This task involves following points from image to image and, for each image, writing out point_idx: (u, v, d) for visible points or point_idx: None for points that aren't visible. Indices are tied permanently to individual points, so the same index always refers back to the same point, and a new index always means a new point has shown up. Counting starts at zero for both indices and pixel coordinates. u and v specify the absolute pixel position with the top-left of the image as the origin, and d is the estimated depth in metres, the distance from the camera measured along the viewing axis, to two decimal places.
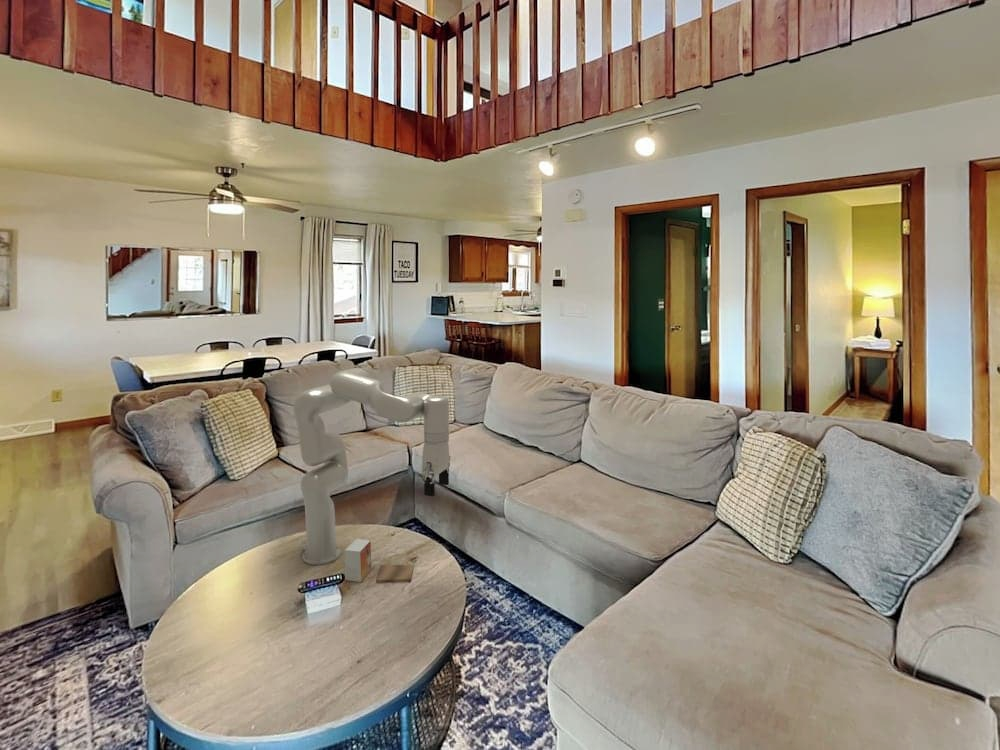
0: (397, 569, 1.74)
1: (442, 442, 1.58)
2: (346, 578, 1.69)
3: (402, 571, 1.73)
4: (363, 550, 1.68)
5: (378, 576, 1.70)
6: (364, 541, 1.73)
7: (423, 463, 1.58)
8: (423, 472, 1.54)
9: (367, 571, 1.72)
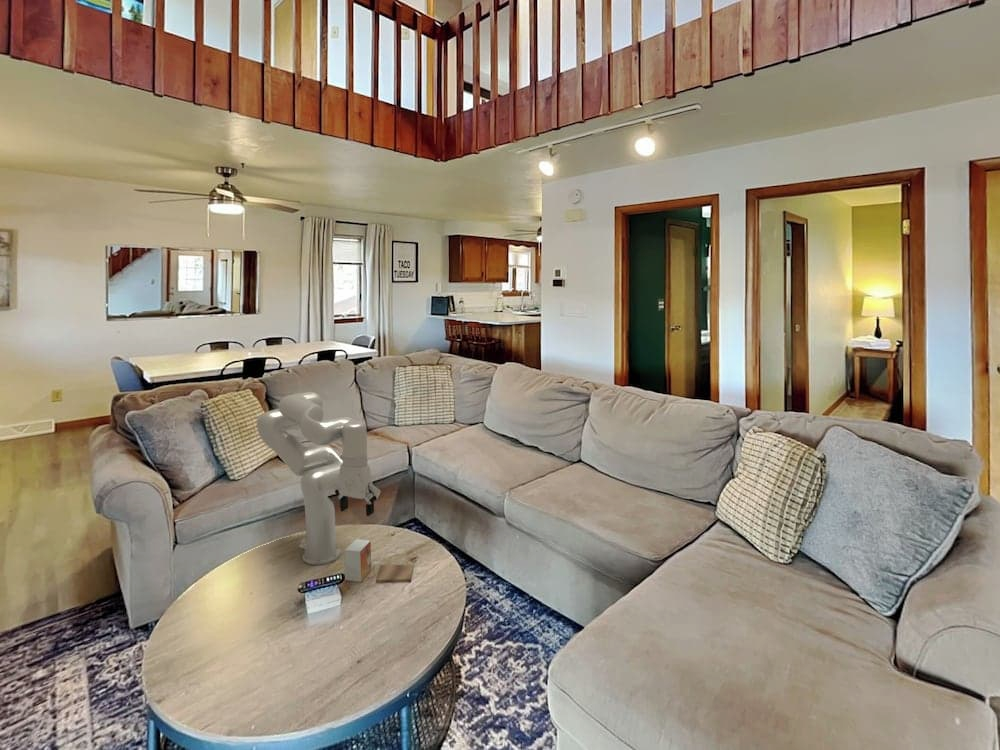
0: (397, 569, 1.74)
1: None
2: (346, 578, 1.69)
3: (402, 571, 1.73)
4: (363, 550, 1.68)
5: (378, 576, 1.70)
6: (364, 541, 1.73)
7: (365, 486, 1.63)
8: (378, 490, 1.64)
9: (367, 571, 1.72)
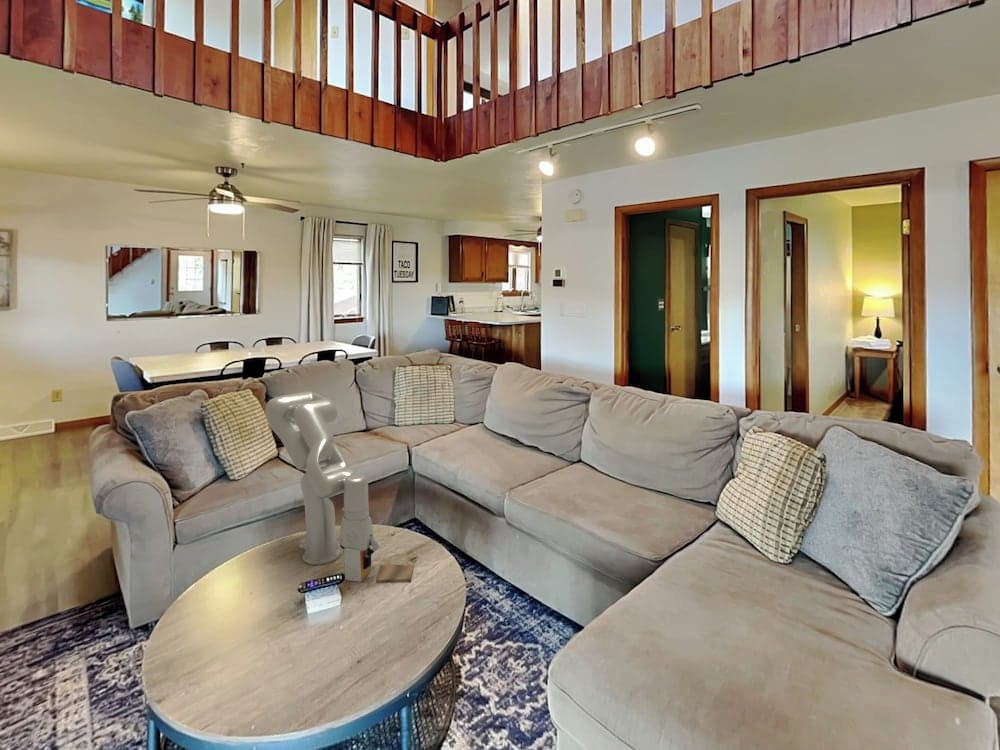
0: (397, 569, 1.74)
1: None
2: (346, 578, 1.69)
3: (402, 571, 1.73)
4: None
5: (378, 576, 1.70)
6: None
7: (367, 539, 1.66)
8: (377, 546, 1.68)
9: (367, 571, 1.72)
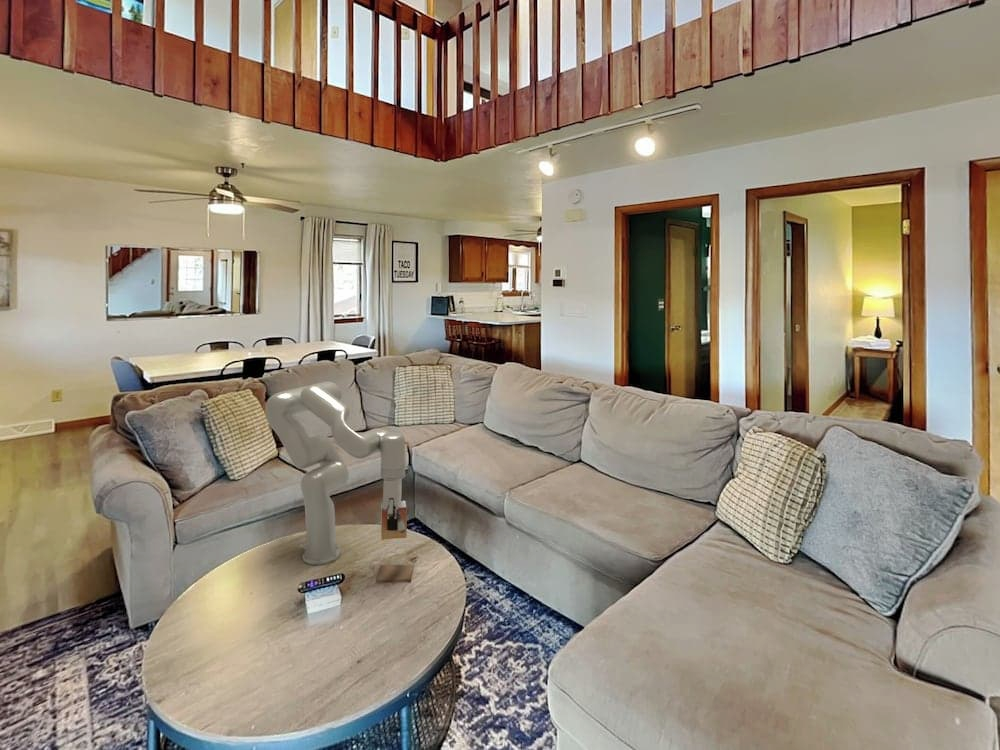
0: (397, 569, 1.74)
1: (402, 477, 1.65)
2: None
3: (402, 571, 1.73)
4: None
5: (378, 576, 1.70)
6: (402, 505, 1.68)
7: (385, 499, 1.63)
8: (390, 511, 1.61)
9: (396, 535, 1.68)
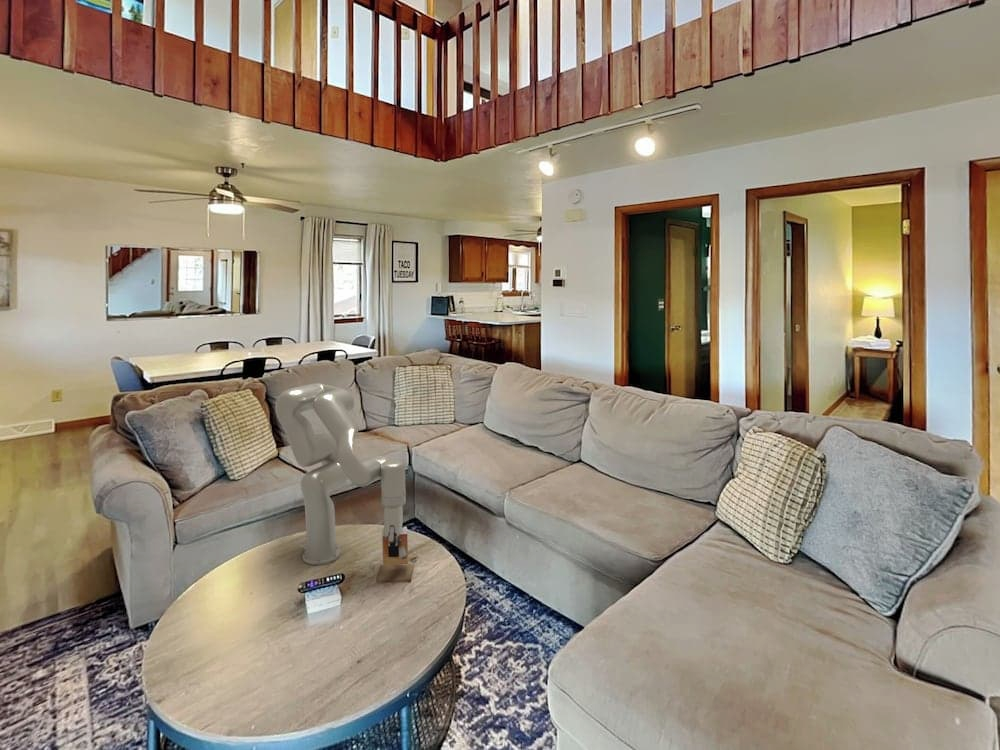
0: (397, 569, 1.74)
1: (402, 504, 1.67)
2: None
3: (402, 571, 1.73)
4: None
5: (378, 576, 1.70)
6: (403, 531, 1.70)
7: (386, 527, 1.64)
8: (390, 539, 1.62)
9: (398, 562, 1.69)
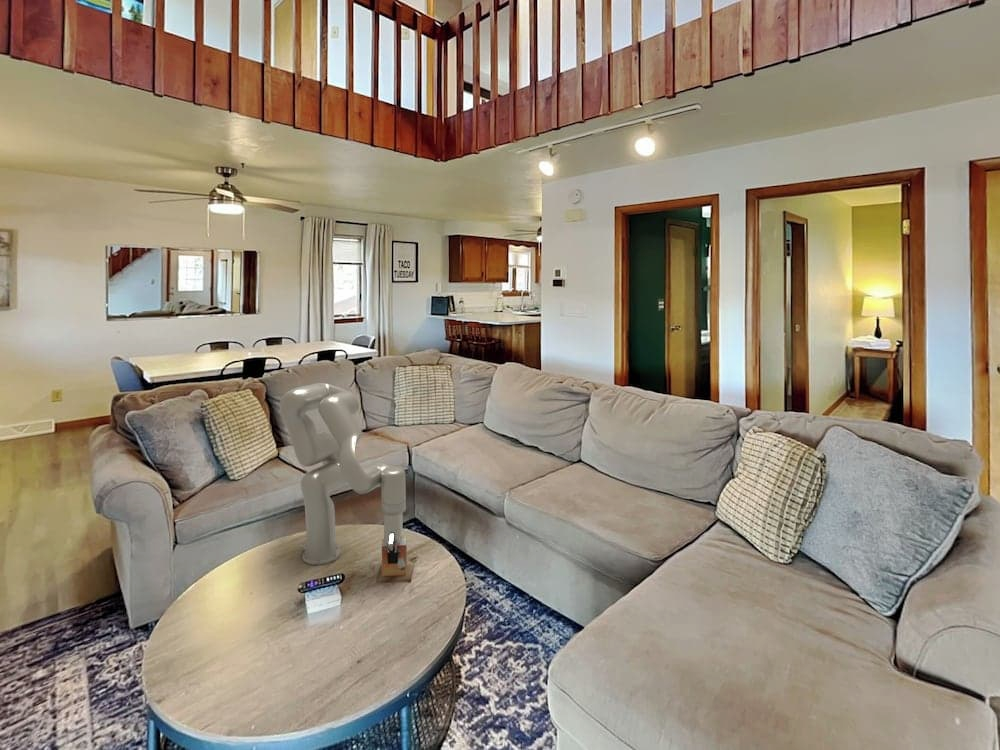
0: None
1: (402, 511, 1.67)
2: None
3: None
4: None
5: (378, 576, 1.70)
6: (402, 542, 1.70)
7: (386, 534, 1.65)
8: (390, 543, 1.62)
9: (397, 572, 1.70)
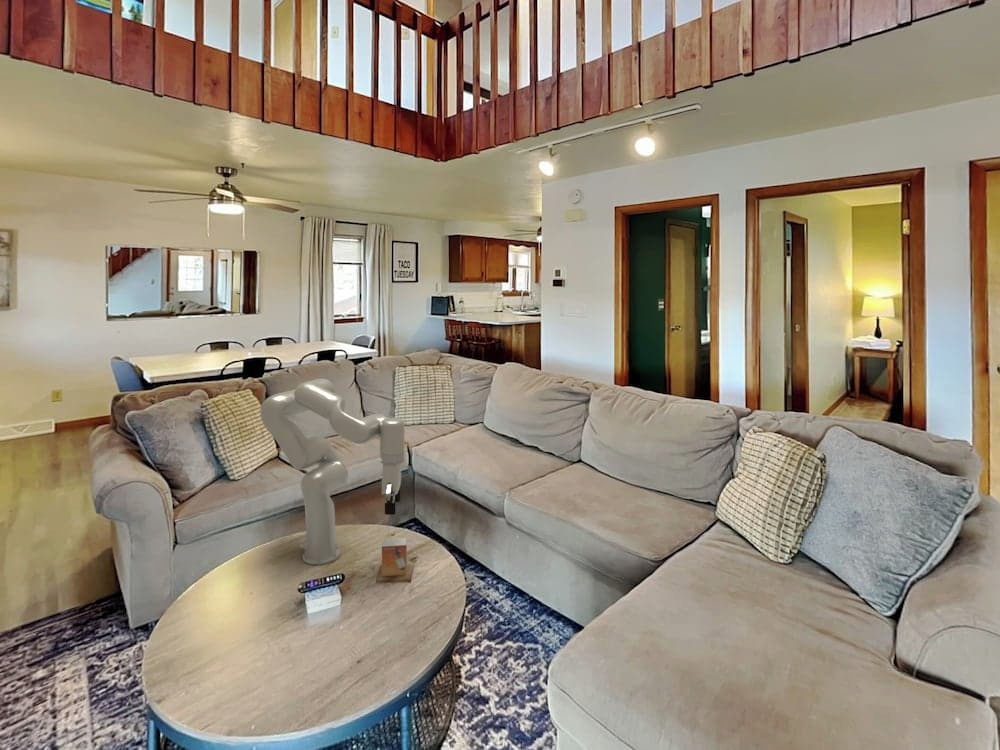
0: None
1: (401, 462, 1.66)
2: None
3: None
4: (388, 547, 1.68)
5: (378, 576, 1.70)
6: (402, 542, 1.70)
7: (383, 484, 1.64)
8: (387, 493, 1.61)
9: (397, 572, 1.70)
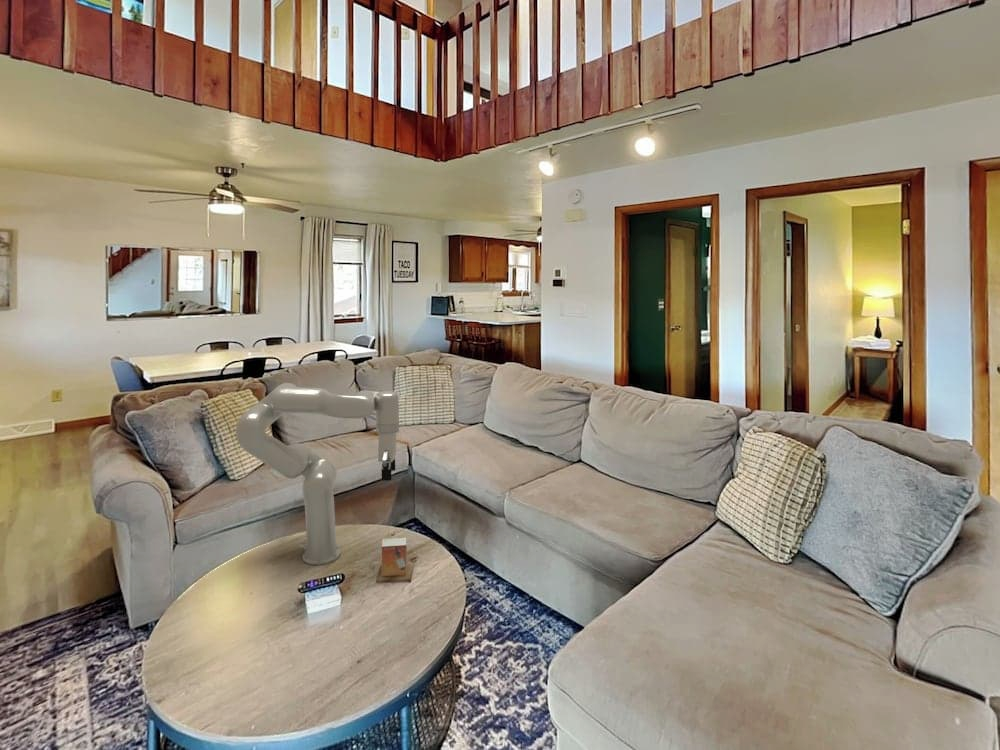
0: None
1: (395, 431, 1.79)
2: None
3: None
4: (388, 547, 1.68)
5: (378, 576, 1.70)
6: (402, 542, 1.70)
7: (380, 452, 1.77)
8: (384, 459, 1.74)
9: (397, 572, 1.70)
